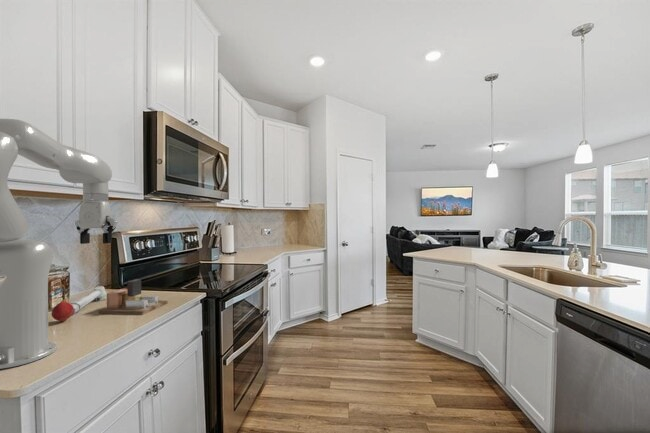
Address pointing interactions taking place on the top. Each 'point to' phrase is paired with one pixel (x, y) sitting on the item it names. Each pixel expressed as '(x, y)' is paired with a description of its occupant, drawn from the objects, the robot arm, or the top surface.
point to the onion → (62, 311)
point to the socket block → (116, 298)
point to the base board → (132, 309)
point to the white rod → (90, 298)
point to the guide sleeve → (142, 302)
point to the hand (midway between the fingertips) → (96, 243)
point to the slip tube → (132, 290)
